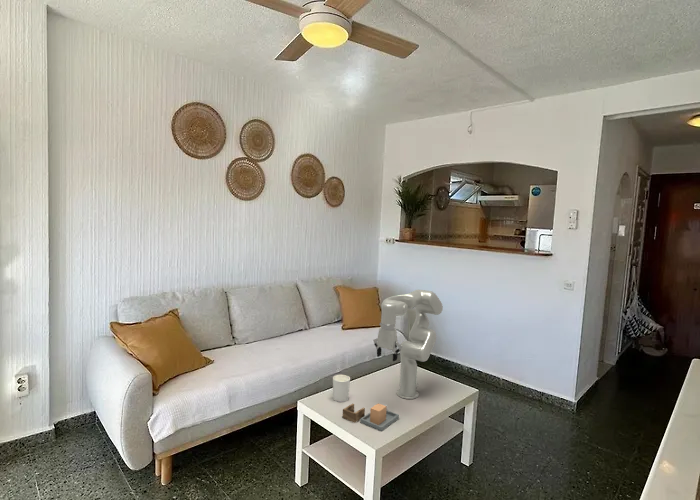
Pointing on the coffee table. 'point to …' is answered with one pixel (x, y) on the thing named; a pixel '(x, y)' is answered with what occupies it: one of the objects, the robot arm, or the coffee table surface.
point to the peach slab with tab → (378, 413)
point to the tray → (389, 420)
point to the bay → (350, 415)
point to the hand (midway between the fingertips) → (386, 358)
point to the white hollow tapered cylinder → (341, 388)
